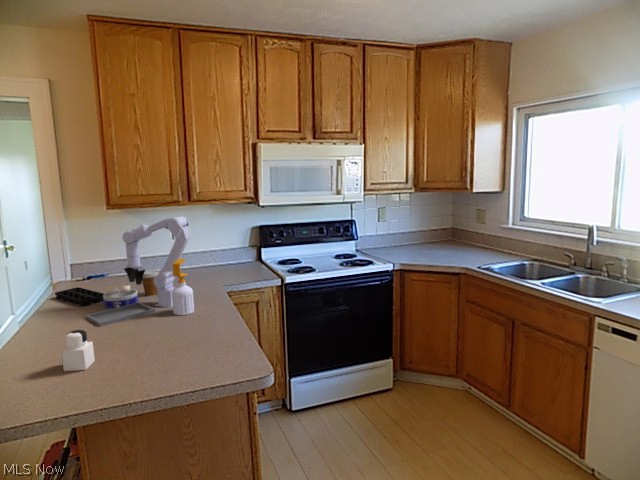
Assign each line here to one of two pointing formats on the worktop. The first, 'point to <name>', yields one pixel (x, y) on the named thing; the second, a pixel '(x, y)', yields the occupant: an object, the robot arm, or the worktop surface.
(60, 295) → the egg carton
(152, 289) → the disposable coffee cup
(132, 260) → the robot arm
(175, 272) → the soap bottle
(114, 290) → the pebble
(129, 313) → the parts tray
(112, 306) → the dog bowl
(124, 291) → the pebble
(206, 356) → the worktop surface
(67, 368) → the medicine bottle
